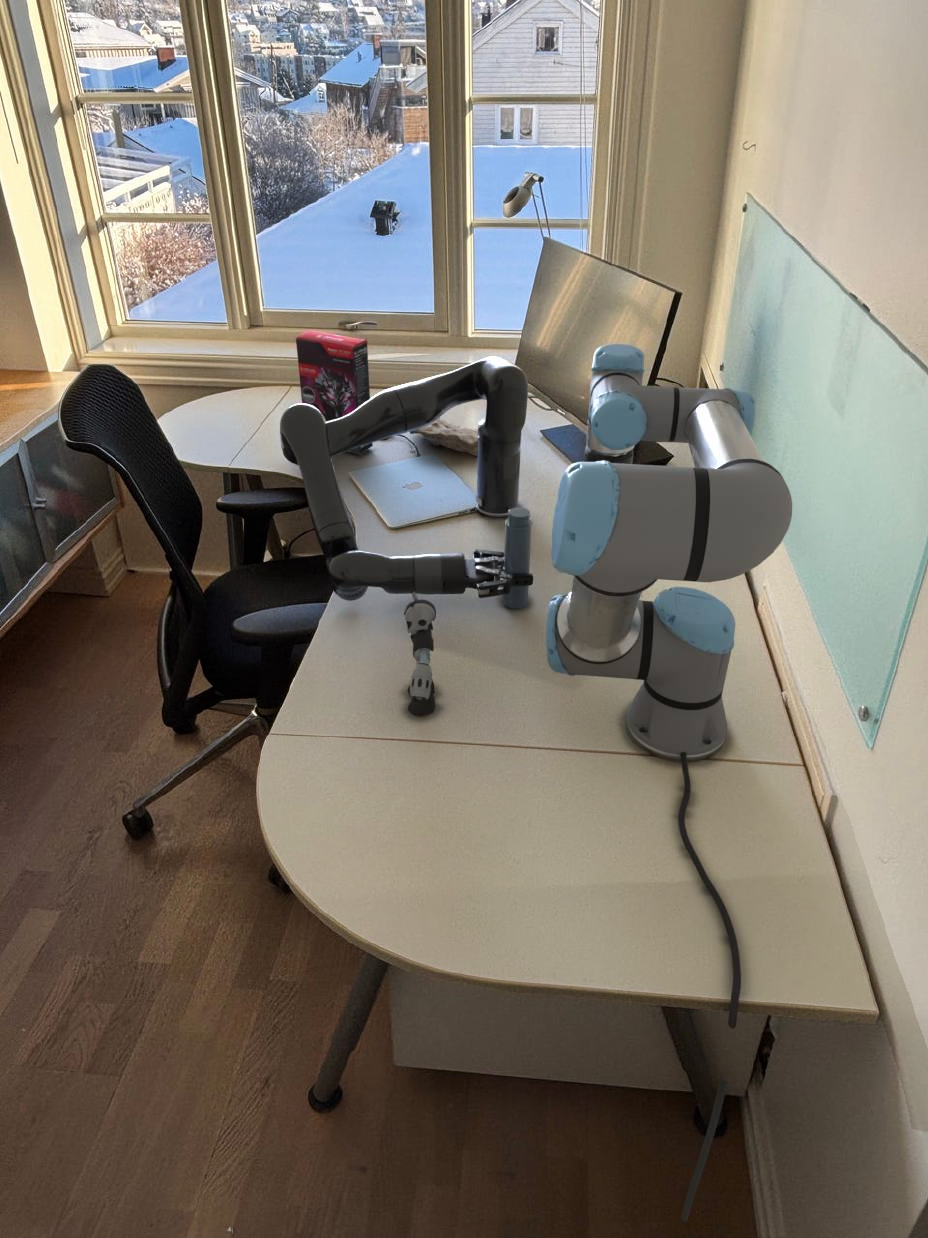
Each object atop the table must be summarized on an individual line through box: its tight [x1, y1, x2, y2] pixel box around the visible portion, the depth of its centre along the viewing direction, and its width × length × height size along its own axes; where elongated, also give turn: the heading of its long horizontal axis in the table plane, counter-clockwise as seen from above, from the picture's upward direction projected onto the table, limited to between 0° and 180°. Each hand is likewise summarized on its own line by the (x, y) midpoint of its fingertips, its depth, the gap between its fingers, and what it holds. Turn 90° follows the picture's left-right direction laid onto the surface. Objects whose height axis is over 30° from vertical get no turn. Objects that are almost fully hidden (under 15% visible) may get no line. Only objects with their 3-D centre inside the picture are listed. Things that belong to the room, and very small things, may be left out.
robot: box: [403, 589, 437, 717], centre depth 143 cm, size 20×5×20 cm, turn 3°
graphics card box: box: [295, 329, 374, 455], centre depth 226 cm, size 17×7×27 cm, turn 62°
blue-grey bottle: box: [502, 506, 533, 610], centre depth 168 cm, size 5×5×19 cm
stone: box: [409, 416, 478, 457], centre depth 232 cm, size 21×15×6 cm
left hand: (530, 571), depth 170 cm, fingers closed on blue-grey bottle, 4 cm apart
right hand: (596, 574), depth 156 cm, fingers closed on lid, 5 cm apart
